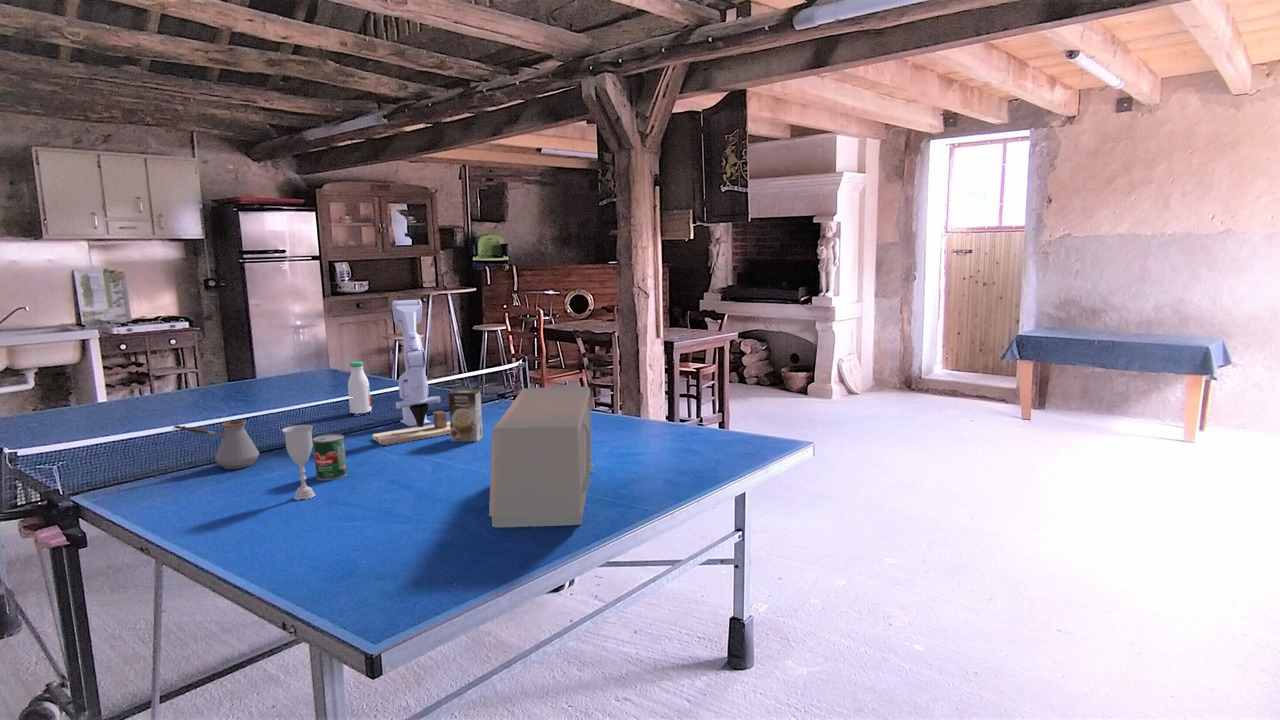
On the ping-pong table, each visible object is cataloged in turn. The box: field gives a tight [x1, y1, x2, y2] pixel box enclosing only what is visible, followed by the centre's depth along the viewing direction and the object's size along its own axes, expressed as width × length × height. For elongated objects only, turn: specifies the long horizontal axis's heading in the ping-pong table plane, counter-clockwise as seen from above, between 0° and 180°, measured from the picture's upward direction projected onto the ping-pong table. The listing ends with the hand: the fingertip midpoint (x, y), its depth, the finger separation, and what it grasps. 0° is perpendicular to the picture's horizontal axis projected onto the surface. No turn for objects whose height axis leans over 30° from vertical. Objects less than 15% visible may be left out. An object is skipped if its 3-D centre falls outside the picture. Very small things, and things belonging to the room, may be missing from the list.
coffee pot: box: [171, 420, 260, 470], centre depth 216 cm, size 21×12×15 cm, turn 135°
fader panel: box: [371, 420, 451, 446], centre depth 250 cm, size 12×28×2 cm, turn 126°
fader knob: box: [432, 410, 448, 428], centre depth 253 cm, size 4×3×5 cm
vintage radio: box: [488, 386, 596, 528], centre depth 184 cm, size 45×22×24 cm, turn 179°
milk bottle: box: [347, 361, 372, 414], centre depth 283 cm, size 8×8×20 cm
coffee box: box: [448, 388, 484, 443], centre depth 242 cm, size 9×6×16 cm
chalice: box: [281, 424, 316, 501], centre depth 189 cm, size 7×7×18 cm
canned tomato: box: [312, 433, 348, 481], centre depth 206 cm, size 8×8×11 cm
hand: (420, 426), depth 250 cm, fingers closed
